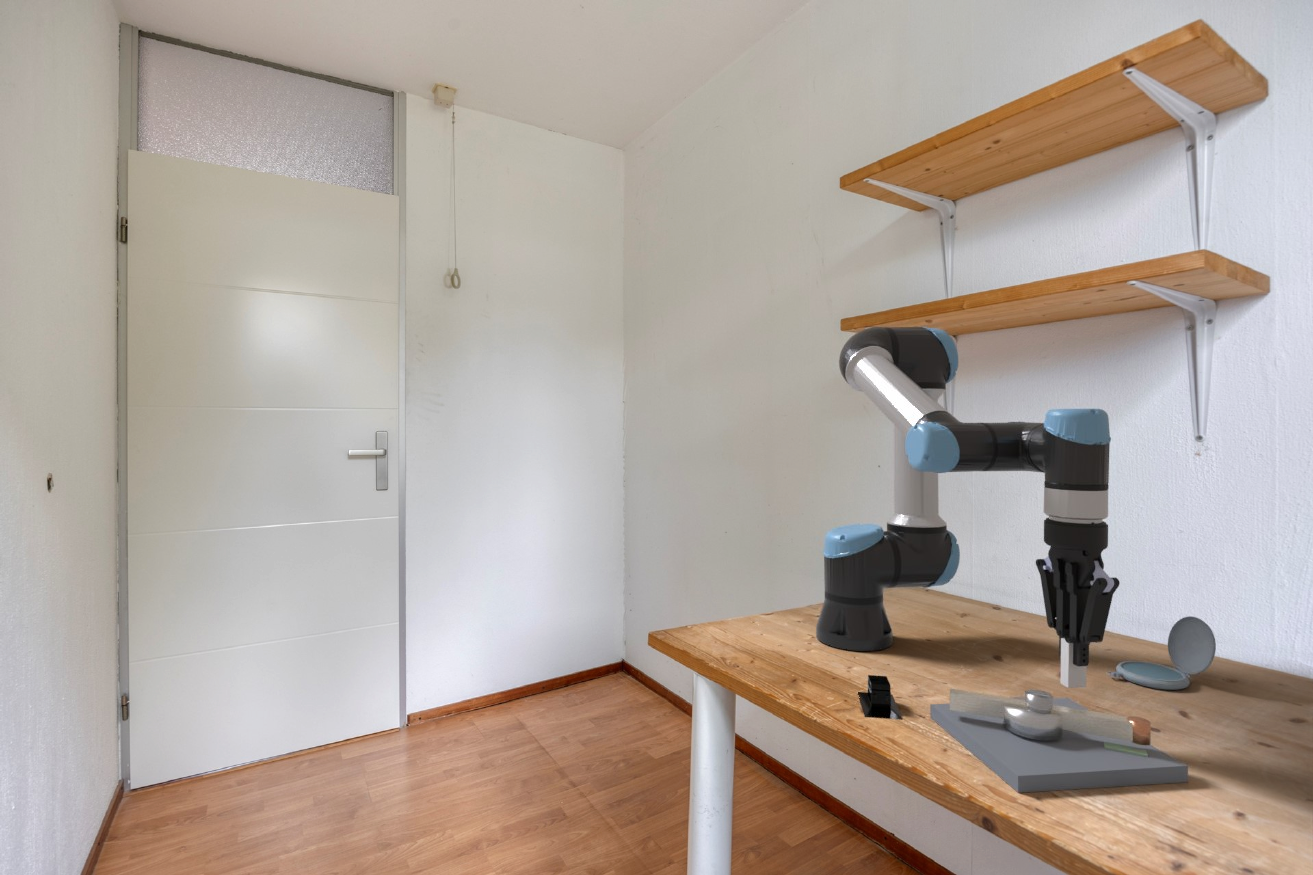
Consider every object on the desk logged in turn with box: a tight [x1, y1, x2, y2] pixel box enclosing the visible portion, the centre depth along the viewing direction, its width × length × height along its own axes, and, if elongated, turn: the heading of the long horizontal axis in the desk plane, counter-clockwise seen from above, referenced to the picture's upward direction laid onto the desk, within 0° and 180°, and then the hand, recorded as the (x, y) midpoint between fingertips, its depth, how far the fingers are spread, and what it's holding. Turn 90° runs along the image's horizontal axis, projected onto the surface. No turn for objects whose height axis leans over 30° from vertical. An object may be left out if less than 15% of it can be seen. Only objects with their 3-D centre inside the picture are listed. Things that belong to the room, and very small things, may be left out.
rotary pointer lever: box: [949, 688, 1152, 745], centre depth 86 cm, size 7×23×5 cm, turn 63°
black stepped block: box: [857, 674, 904, 721], centre depth 100 cm, size 12×7×5 cm, turn 169°
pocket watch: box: [1106, 616, 1217, 691], centre depth 109 cm, size 10×11×15 cm
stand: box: [929, 697, 1189, 794], centre depth 86 cm, size 20×22×2 cm
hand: (1073, 685), depth 89 cm, fingers closed
